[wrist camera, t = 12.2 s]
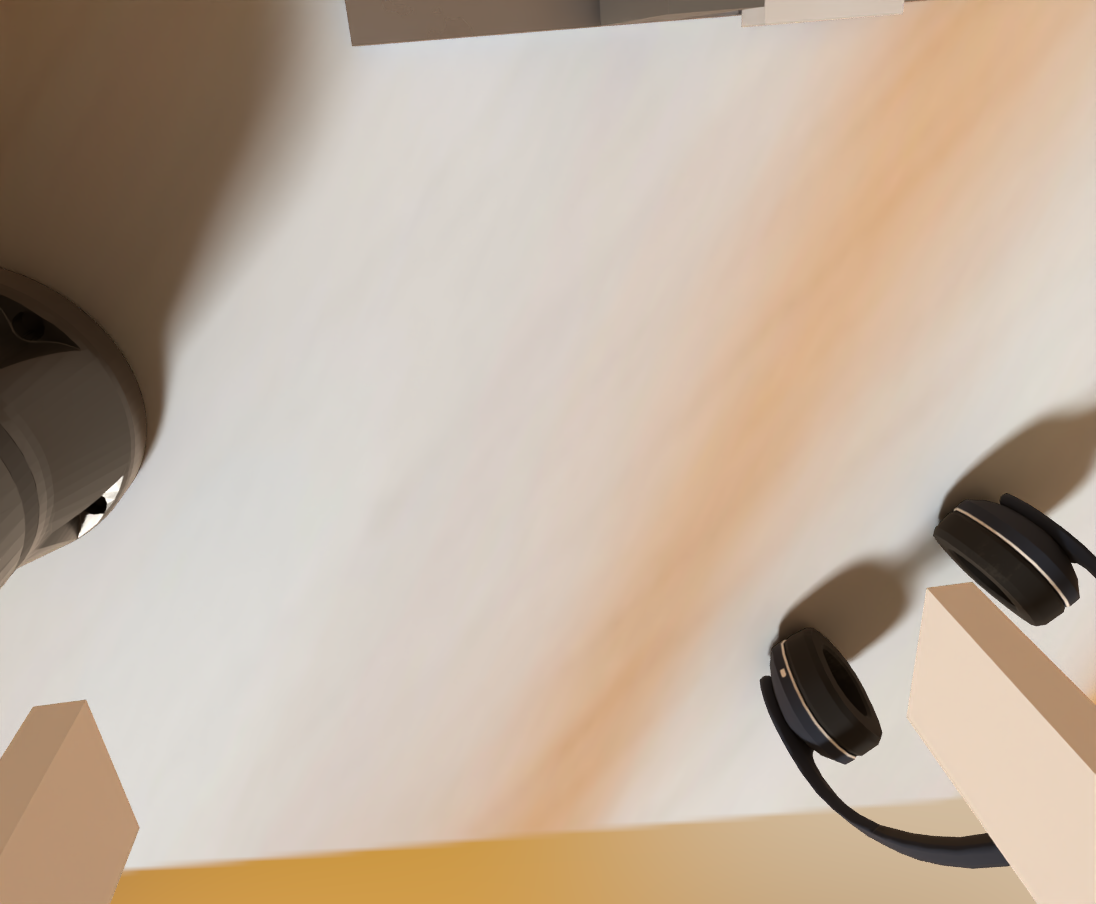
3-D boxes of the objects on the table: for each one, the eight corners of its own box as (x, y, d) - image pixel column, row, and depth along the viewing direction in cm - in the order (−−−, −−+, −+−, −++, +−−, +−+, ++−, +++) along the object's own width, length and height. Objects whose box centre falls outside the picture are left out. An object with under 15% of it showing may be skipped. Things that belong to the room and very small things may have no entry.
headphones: (788, 707, 58) (926, 968, 41) (729, 655, 55) (851, 911, 38) (1034, 524, 53) (1298, 735, 37) (982, 458, 50) (1242, 652, 34)
